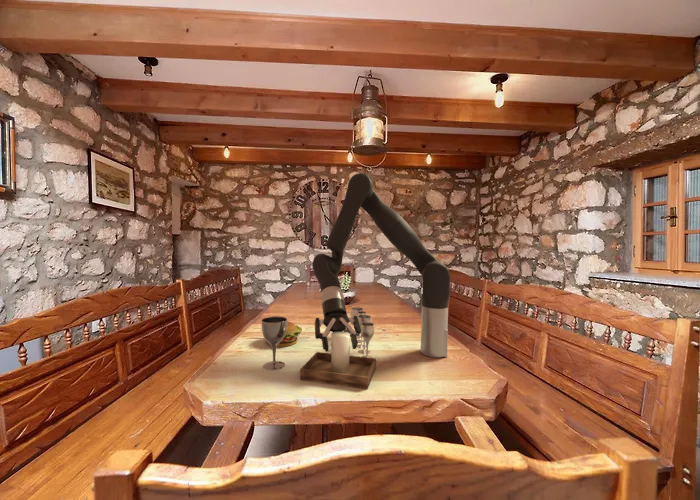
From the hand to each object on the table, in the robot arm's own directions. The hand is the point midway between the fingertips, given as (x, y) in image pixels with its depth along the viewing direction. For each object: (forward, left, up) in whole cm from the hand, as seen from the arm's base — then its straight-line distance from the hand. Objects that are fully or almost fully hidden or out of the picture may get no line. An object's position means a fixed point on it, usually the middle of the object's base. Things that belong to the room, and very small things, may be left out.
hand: (341, 349), depth 92 cm
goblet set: (-1, -27, -8) cm, 28 cm away
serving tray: (+1, -1, -8) cm, 8 cm away
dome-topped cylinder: (+1, -1, -7) cm, 7 cm away
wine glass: (+23, -1, -8) cm, 24 cm away
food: (+30, -22, -8) cm, 38 cm away
